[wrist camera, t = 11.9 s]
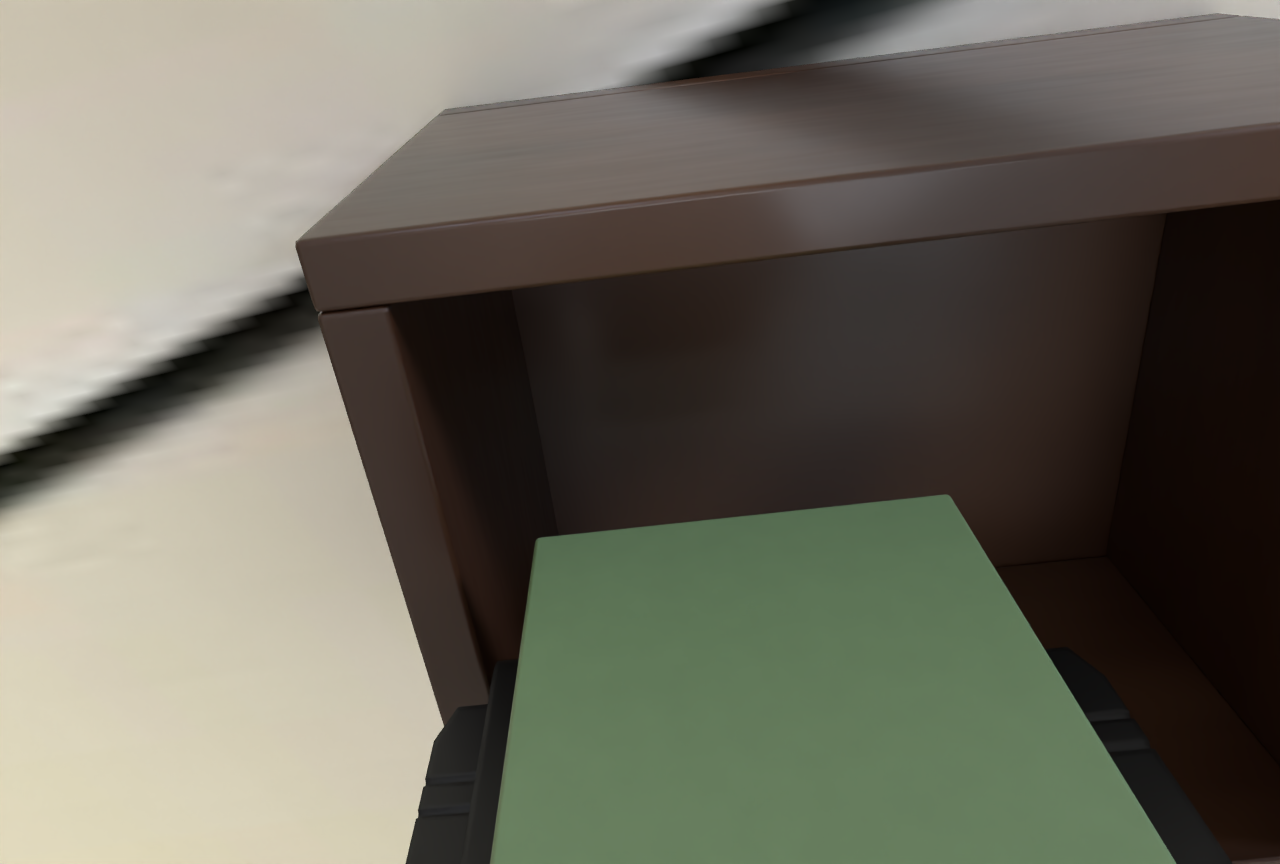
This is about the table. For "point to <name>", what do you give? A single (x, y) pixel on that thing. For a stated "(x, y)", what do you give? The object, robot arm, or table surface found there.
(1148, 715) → the box
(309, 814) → the table surface
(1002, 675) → the block
